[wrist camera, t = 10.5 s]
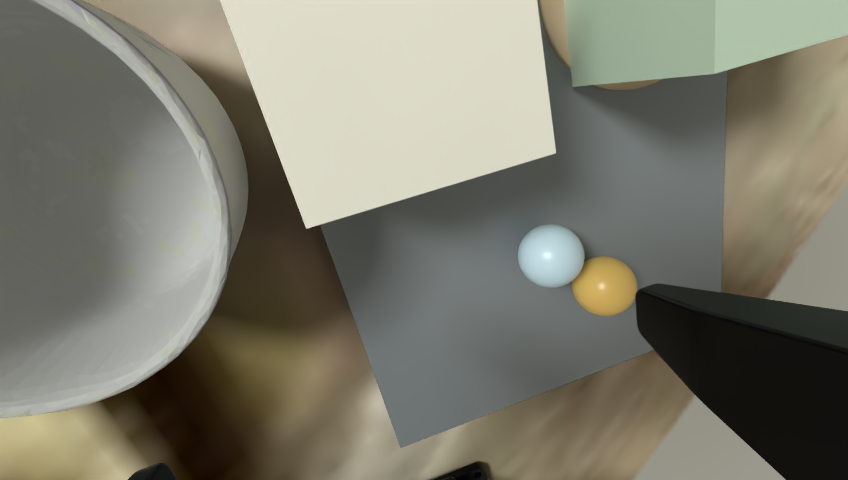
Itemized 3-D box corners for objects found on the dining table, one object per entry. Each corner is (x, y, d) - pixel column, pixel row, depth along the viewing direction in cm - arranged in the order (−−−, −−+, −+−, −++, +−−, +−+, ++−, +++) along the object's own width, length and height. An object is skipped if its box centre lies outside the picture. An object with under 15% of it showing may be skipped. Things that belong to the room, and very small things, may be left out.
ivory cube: (473, 137, 18) (556, 153, 11) (315, 182, 17) (305, 228, 10) (436, -51, 15) (516, -169, 9) (247, -9, 14) (179, -107, 8)
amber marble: (612, 289, 22) (653, 315, 19) (563, 307, 22) (598, 335, 19) (608, 240, 21) (650, 260, 18) (557, 258, 21) (592, 281, 18)
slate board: (711, 319, 25) (720, 324, 25) (399, 439, 23) (400, 447, 22) (721, -210, 16) (735, -222, 16) (199, -114, 14) (193, -123, 13)
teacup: (229, 3, 15) (128, -104, 7) (296, 268, 18) (274, 375, 11) (-238, 42, 12) (-1073, -57, 5) (-56, 337, 16) (-384, 531, 9)
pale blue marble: (565, 262, 21) (601, 286, 18) (512, 280, 21) (541, 307, 18) (558, 209, 20) (595, 225, 17) (502, 227, 19) (532, 247, 17)
